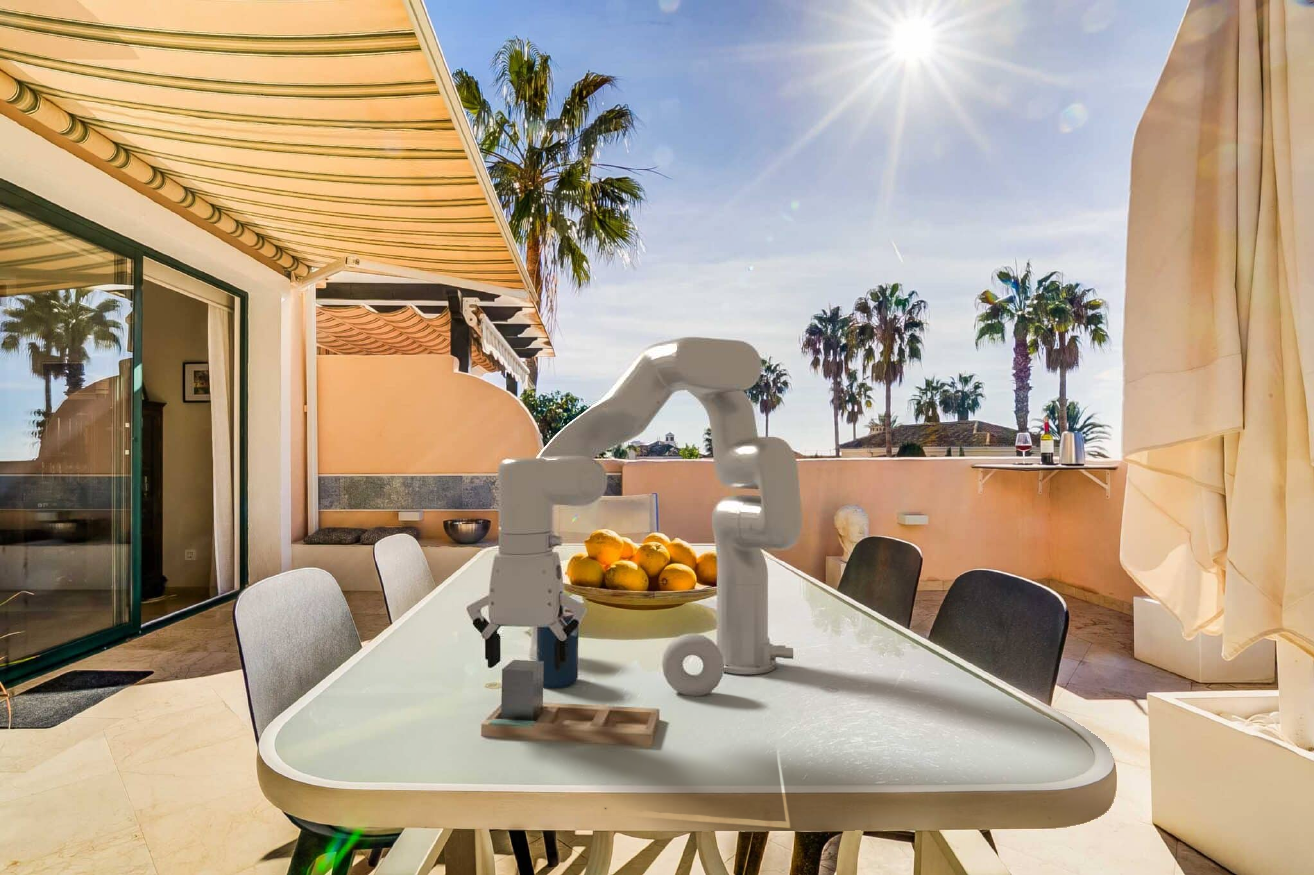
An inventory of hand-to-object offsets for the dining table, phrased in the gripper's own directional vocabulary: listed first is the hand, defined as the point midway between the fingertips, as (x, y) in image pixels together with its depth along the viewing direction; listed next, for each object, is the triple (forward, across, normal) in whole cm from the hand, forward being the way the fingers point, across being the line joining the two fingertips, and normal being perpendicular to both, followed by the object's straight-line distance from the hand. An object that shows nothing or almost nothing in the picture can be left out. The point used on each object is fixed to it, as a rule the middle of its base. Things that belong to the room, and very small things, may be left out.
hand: (526, 665), depth 90 cm
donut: (+10, -22, -15) cm, 29 cm away
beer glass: (+9, +8, -33) cm, 35 cm away
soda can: (+9, +1, -17) cm, 19 cm away
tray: (+8, -7, +1) cm, 11 cm away
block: (+8, 0, +1) cm, 8 cm away
